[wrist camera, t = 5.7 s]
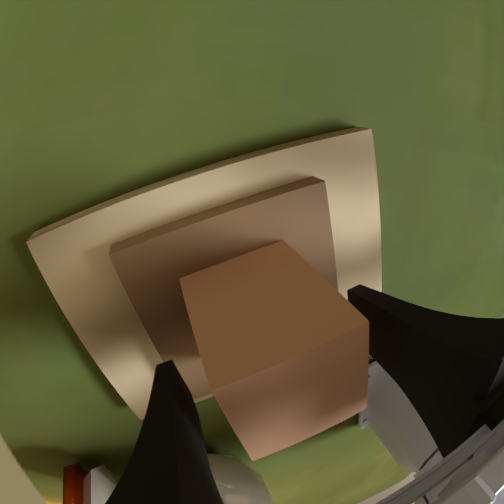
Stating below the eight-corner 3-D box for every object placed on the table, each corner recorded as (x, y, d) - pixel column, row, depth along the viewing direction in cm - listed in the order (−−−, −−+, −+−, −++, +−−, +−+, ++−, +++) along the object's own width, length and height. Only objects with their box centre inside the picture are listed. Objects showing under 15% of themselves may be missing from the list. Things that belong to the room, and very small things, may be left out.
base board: (370, 313, 20) (389, 331, 18) (138, 405, 18) (141, 432, 16) (356, 126, 15) (385, 131, 13) (34, 232, 12) (18, 251, 10)
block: (299, 320, 16) (366, 408, 10) (212, 355, 15) (252, 461, 10) (283, 239, 13) (368, 320, 8) (179, 278, 13) (210, 390, 7)
